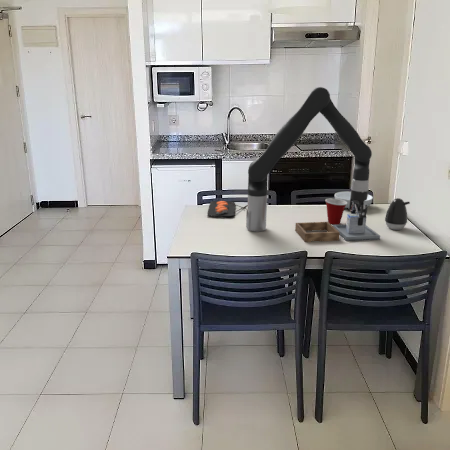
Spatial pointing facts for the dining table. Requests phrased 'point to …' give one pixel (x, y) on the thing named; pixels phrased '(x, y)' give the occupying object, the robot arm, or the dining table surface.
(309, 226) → the walnut holder
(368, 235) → the grey tray
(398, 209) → the pump dispenser
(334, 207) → the plastic cup
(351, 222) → the medicine box
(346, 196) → the serving bowl
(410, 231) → the dining table surface
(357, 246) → the dining table surface
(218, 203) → the sushi plate
